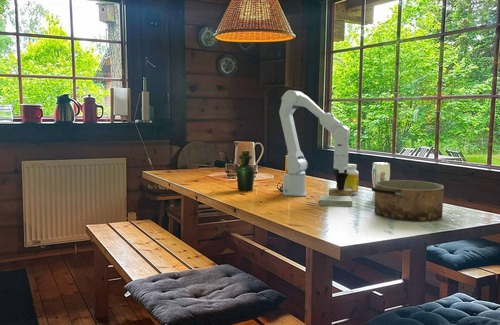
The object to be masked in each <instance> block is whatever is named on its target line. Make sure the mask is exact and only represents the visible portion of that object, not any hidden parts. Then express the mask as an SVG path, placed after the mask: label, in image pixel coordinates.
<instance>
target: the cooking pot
mask: <svg viewBox="0 0 500 325" xmlns="http://www.w3.org/2000/svg"><path fill="white" fill-rule="evenodd" d="M444 190H445V185H444V184H443V183H437V182H431V181H421V180H408V179H406V180H405V179H391V180H390V179H389V180H385V181H379V182H376V185H375V188H374V187H373V186H372V187H371V192H373V191H375V201H374V213H375V214H376V215H377V216H378V217H380V218H384V219H388V218H389V220H393V219H394V221H401V222H409V223H410V222H411V223H412V222H413V223H425V222H426V223H428V222H427V221H429V222H435V221H439V220H441V219H442V218H443V209H444Z"/></svg>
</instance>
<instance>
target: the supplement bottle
mask: <svg viewBox="0 0 500 325" xmlns="http://www.w3.org/2000/svg"><path fill="white" fill-rule="evenodd" d="M348 166H351V168H348V169H345V170H347V172H346V173H348V176H347V178H346V181H345V185H344V189H351V190H352V196H354V195H358V193H359V175H360V174H359V171H358V170H357V168H358V167H357V166H358V165H357V164H356V163H355V164H354V163H348Z"/></svg>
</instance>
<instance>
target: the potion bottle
mask: <svg viewBox="0 0 500 325" xmlns="http://www.w3.org/2000/svg"><path fill="white" fill-rule="evenodd" d="M240 151H241V155H239V157H238V159H240V161H241V164H240V165H239V166H237V167H236V169H235V170H236V181H237V182H236V184H237V190H240V191H251V192H253V190H254V189H253V188H254V179H255V168H254V167H253V166H252V165H250V162H251V161H250V160H251V159H253V156H252V155H251V154H250V152H251V150H248V149H244V150H243V149H242V150H240ZM240 191H239V192H240Z"/></svg>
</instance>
